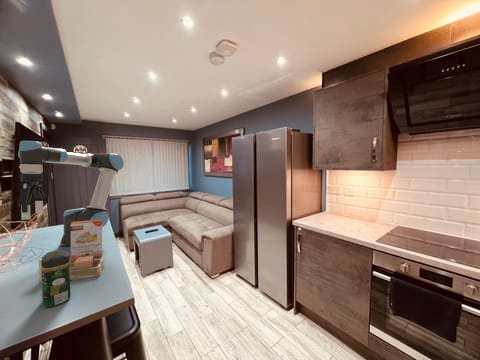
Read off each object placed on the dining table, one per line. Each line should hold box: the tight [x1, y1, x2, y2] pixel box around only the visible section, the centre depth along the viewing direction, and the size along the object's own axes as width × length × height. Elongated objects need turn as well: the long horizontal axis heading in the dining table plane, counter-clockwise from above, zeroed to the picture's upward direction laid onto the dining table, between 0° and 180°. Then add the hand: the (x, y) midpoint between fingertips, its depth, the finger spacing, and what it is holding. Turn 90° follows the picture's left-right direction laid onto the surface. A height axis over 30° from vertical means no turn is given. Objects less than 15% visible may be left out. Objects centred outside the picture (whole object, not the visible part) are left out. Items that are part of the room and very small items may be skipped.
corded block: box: [38, 255, 94, 283], centre depth 93 cm, size 6×18×10 cm, turn 116°
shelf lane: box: [70, 258, 105, 281], centre depth 95 cm, size 10×15×4 cm
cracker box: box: [70, 219, 103, 263], centre depth 112 cm, size 14×6×21 cm, turn 124°
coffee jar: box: [41, 249, 72, 308], centre depth 75 cm, size 10×8×19 cm
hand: (33, 216), depth 97 cm, fingers open, 13 cm apart
